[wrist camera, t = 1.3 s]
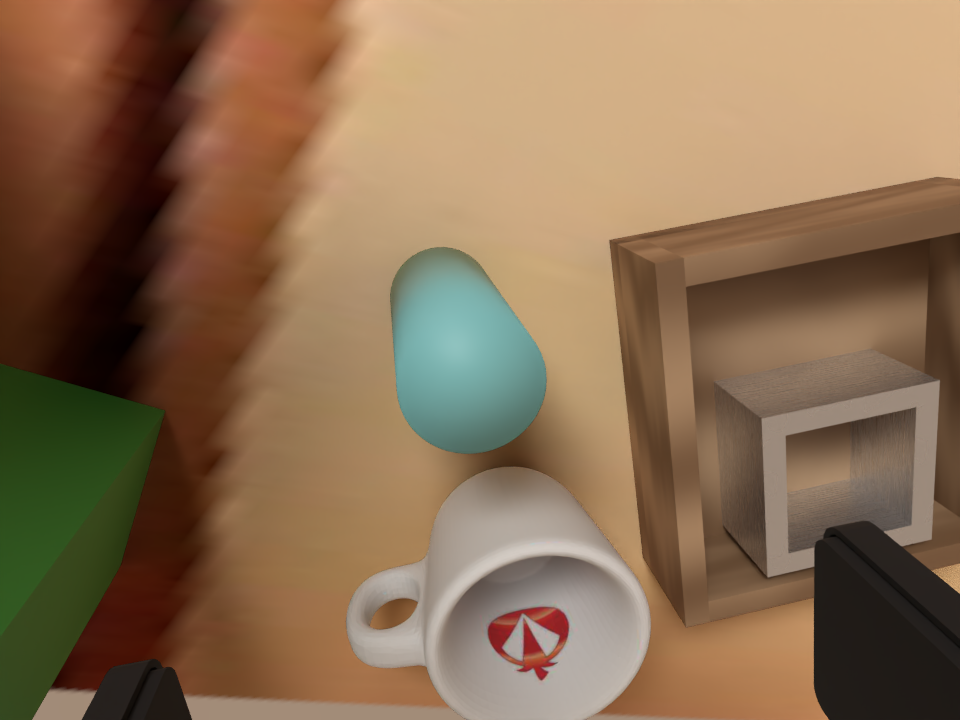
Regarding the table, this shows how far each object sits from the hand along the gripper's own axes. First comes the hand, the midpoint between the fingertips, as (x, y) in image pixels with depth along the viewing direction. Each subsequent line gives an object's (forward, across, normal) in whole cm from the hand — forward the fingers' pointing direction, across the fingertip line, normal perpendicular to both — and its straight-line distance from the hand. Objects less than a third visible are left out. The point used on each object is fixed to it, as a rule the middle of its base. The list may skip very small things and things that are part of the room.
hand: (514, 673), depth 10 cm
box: (+20, -14, +5) cm, 25 cm away
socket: (+20, -15, +8) cm, 26 cm away
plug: (+20, 0, -1) cm, 20 cm away
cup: (+20, 0, +10) cm, 22 cm away
